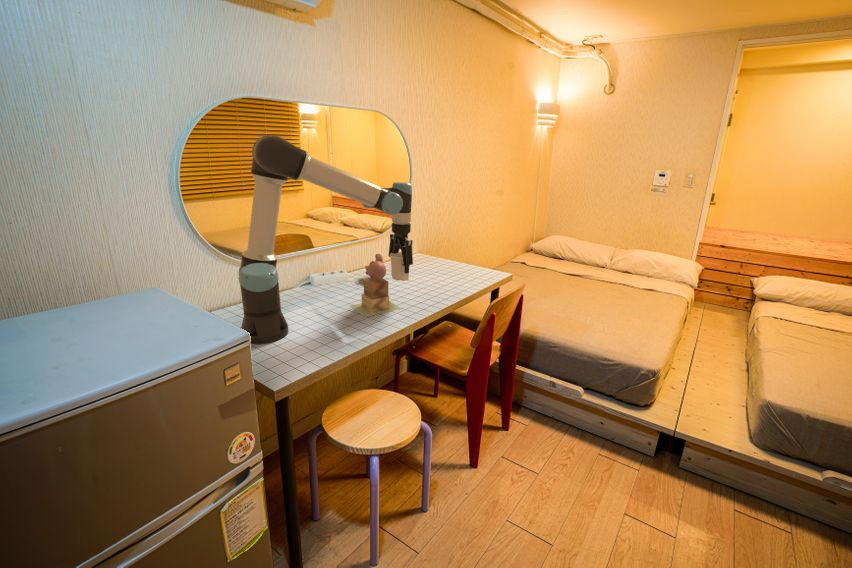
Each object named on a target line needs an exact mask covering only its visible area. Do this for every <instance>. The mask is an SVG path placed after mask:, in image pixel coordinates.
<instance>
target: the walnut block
mask: <svg viewBox="0 0 852 568" xmlns="http://www.w3.org/2000/svg"><path fill="white" fill-rule="evenodd" d="M363 294H365V295H366V296H368V297H369V298H371V299H377V298H382V297H387V296H389V281H388V280H387V279H384V277H383V278H381V277H375V278H371V277H369V278H364V279H363Z"/></svg>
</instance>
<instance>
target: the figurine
mask: <svg viewBox="0 0 852 568" xmlns="http://www.w3.org/2000/svg"><path fill="white" fill-rule="evenodd" d="M364 269H365V275H366V276H368V277H369V278H375V277H381V278H383V279H384V277H385V276H386V274H387V267H386V266H385V264H384V260H383V256H382V254H381V253H376V254H375V260H371V261H370V262H369V263H368V265H366V266H365V268H364Z"/></svg>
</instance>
